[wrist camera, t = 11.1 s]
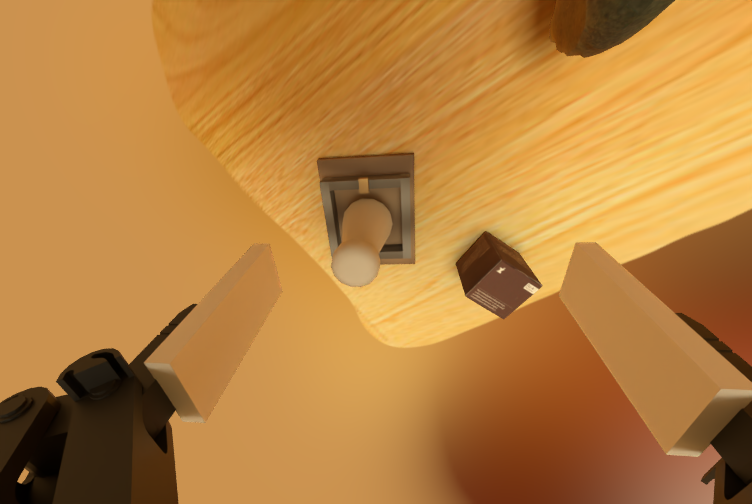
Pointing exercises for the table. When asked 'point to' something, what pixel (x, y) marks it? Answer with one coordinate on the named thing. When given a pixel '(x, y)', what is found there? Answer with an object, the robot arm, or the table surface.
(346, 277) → the salt shaker
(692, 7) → the table surface
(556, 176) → the table surface
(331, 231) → the base
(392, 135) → the table surface
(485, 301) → the box
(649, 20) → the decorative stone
